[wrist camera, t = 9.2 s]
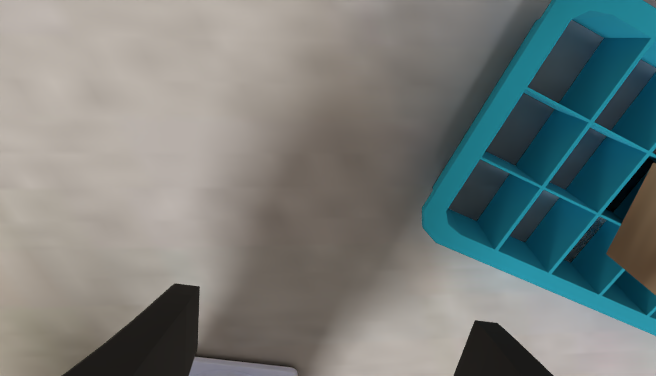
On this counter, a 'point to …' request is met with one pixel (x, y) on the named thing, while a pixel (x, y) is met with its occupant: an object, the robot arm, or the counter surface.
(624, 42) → the ice cube tray
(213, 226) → the counter surface
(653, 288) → the walnut block
